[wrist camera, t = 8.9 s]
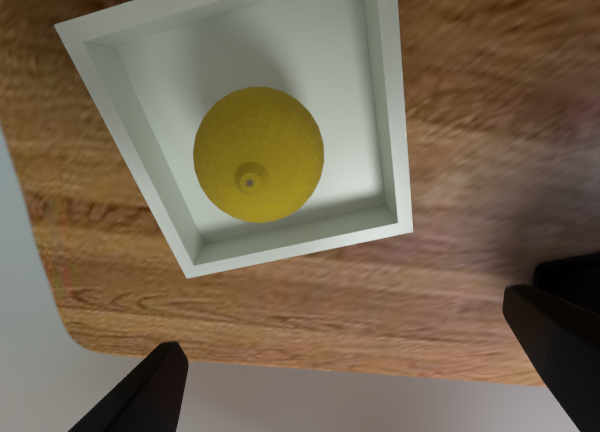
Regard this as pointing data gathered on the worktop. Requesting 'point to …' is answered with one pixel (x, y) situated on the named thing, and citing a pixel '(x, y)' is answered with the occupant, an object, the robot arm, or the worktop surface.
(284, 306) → the worktop surface
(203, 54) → the tray
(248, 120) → the lemon
